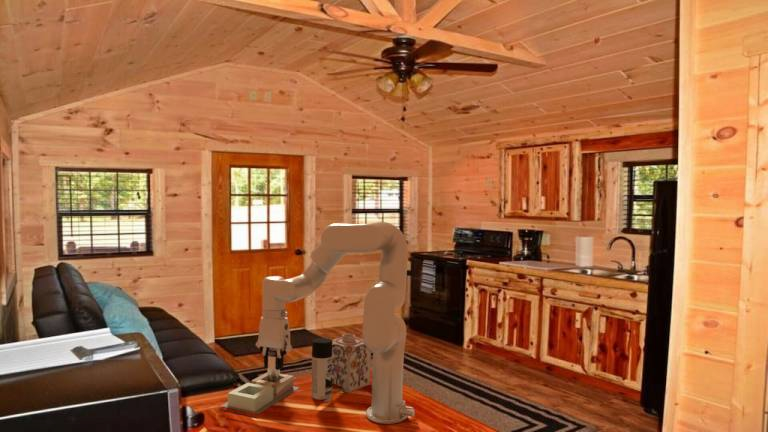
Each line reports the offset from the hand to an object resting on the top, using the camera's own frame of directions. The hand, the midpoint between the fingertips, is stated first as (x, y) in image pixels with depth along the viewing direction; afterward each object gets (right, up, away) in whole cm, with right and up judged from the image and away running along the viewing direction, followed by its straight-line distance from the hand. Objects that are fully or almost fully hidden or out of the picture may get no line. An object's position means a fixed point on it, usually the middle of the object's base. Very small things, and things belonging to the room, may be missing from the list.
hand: (273, 367), depth 181 cm
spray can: (+16, -10, -3) cm, 20 cm away
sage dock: (-5, -8, -11) cm, 14 cm away
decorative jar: (+24, -10, +11) cm, 28 cm away
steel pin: (0, -5, 0) cm, 5 cm away
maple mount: (-1, -8, +1) cm, 8 cm away
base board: (-3, -10, -5) cm, 11 cm away
